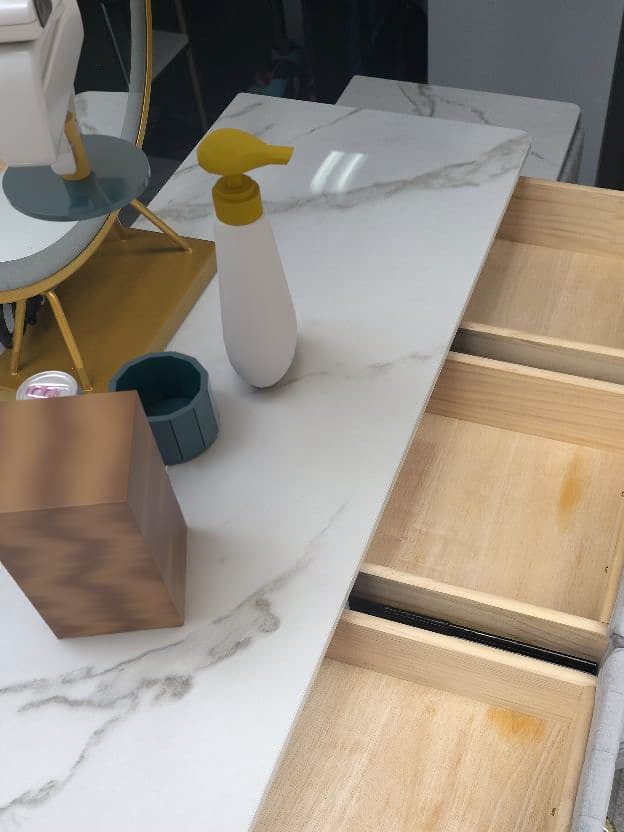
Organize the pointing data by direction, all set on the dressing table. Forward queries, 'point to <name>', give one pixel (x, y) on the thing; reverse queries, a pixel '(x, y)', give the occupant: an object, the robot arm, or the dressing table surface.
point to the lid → (80, 180)
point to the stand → (90, 515)
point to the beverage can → (48, 386)
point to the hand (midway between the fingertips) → (69, 156)
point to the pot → (173, 402)
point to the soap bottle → (249, 258)
